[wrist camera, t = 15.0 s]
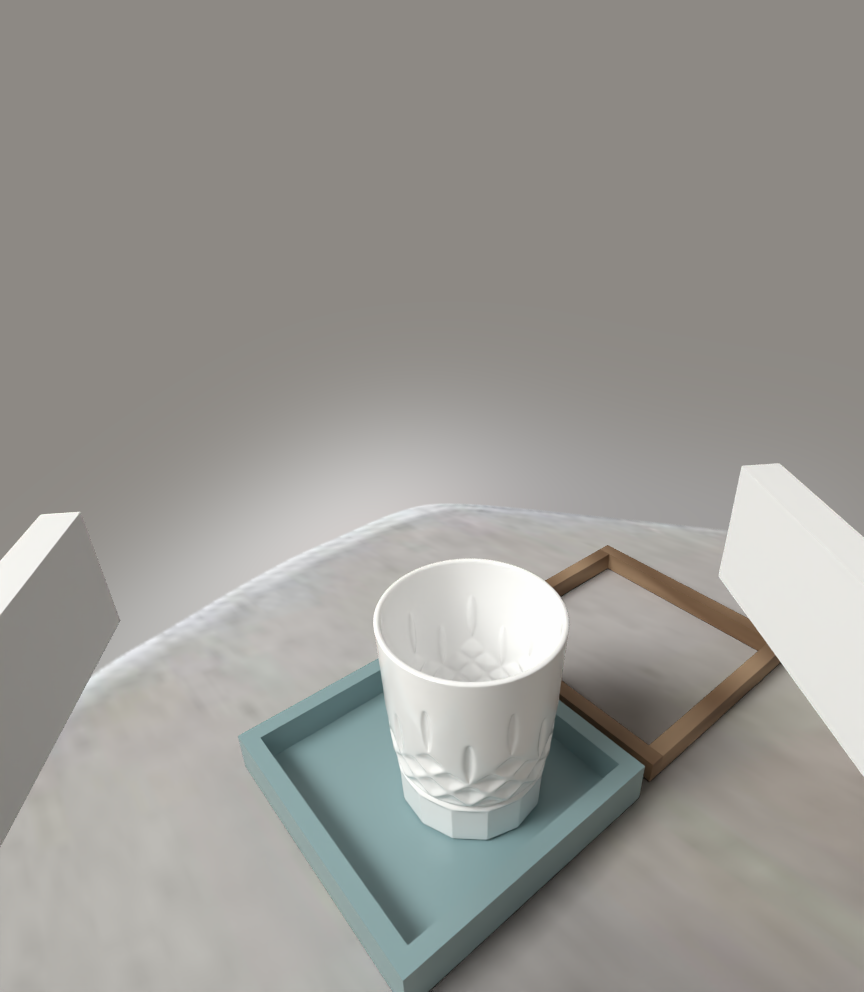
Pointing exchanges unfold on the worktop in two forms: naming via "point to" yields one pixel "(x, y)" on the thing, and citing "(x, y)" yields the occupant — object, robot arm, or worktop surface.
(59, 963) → the worktop surface
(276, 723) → the teal bin
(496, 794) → the white cup
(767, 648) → the walnut frame
